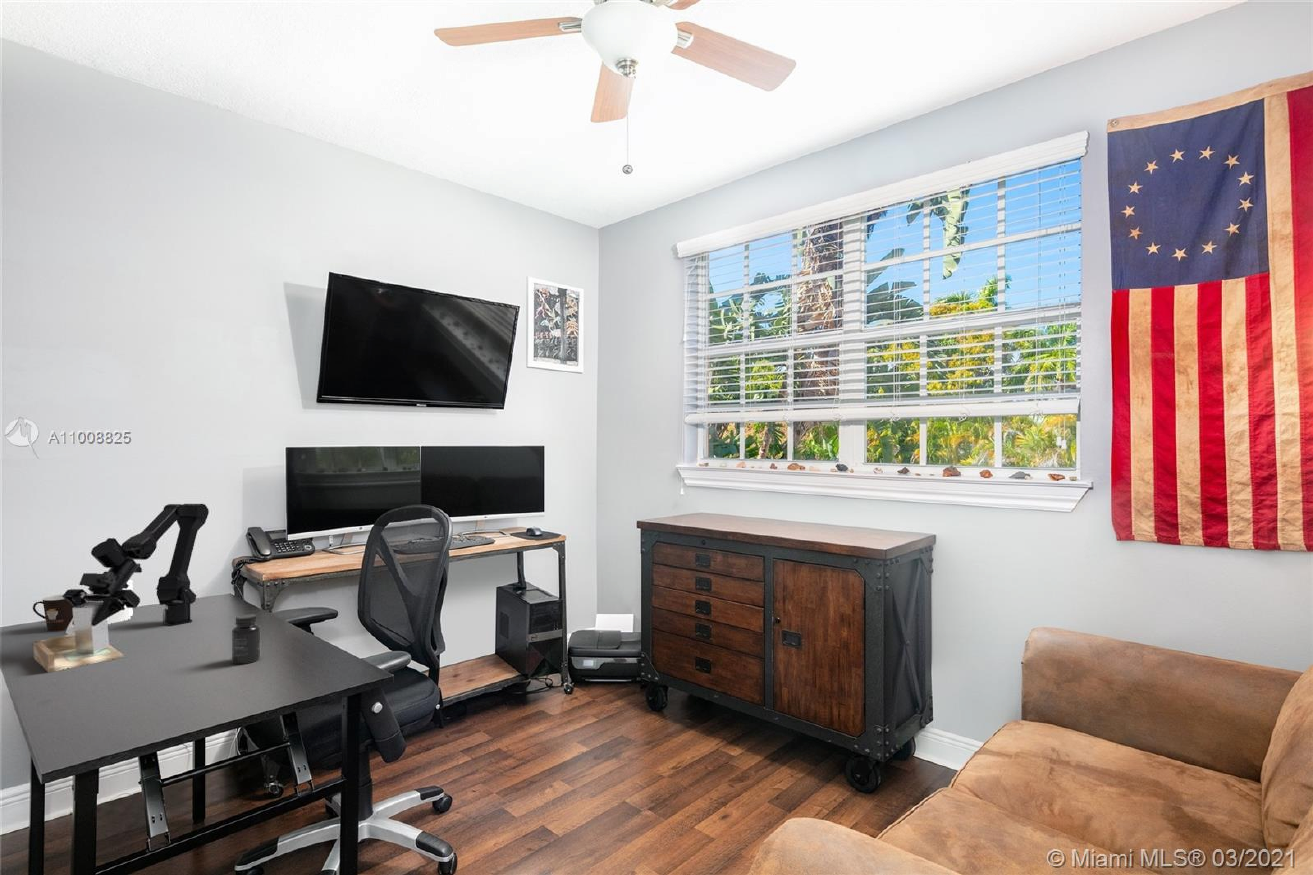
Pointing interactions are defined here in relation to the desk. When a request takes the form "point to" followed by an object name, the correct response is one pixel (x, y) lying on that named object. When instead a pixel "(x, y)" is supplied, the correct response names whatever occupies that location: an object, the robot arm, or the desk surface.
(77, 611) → the aluminium block
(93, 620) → the robot arm
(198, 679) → the desk surface
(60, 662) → the tan wooden shallow tray
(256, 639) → the supplement bottle
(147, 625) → the desk surface
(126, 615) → the white angled block
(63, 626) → the coffee mug
